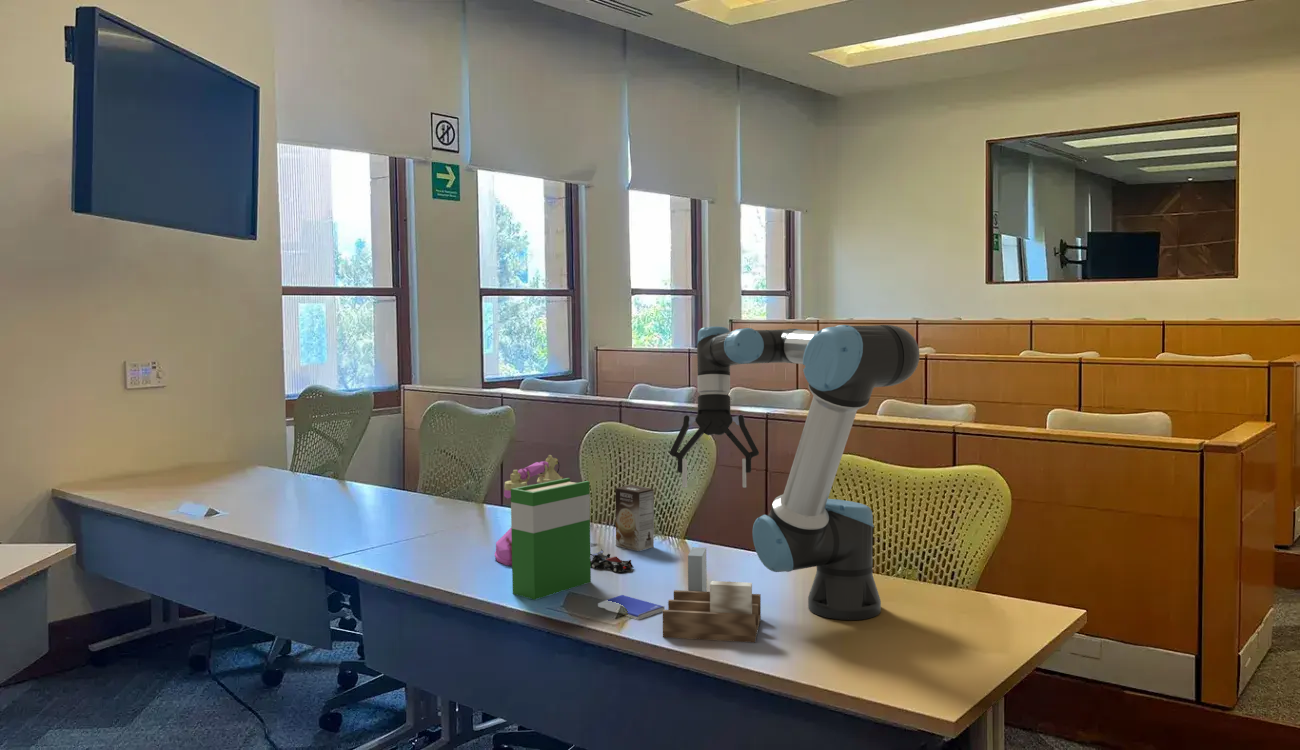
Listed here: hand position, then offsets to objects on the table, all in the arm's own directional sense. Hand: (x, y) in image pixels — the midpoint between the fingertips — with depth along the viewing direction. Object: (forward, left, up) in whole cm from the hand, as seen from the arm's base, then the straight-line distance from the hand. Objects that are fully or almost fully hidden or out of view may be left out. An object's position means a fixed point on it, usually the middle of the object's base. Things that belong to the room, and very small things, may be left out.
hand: (714, 487), depth 215 cm
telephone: (+50, -26, -24) cm, 61 cm away
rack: (-3, +26, -23) cm, 35 cm away
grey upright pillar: (+2, +13, -23) cm, 27 cm away
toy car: (+27, -13, -24) cm, 38 cm away
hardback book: (+37, +5, -24) cm, 44 cm away
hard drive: (+16, +17, -24) cm, 34 cm away
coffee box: (+26, -35, -24) cm, 49 cm away
